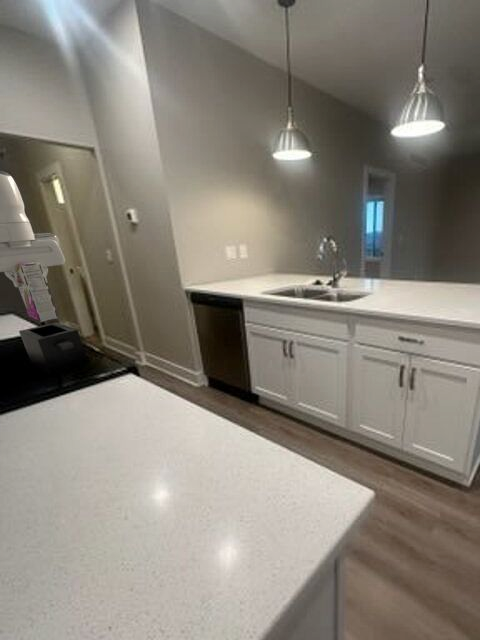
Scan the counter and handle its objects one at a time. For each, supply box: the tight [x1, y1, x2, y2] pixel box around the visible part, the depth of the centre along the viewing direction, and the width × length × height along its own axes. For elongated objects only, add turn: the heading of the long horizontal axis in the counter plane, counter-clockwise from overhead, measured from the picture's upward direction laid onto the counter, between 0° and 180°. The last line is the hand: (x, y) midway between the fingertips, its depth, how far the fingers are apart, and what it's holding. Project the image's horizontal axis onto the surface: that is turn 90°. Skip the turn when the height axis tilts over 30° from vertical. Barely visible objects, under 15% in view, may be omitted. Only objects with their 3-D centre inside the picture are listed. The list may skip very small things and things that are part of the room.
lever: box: [56, 341, 74, 350], centre depth 100 cm, size 3×4×1 cm
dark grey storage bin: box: [18, 322, 89, 376], centre depth 108 cm, size 10×17×11 cm, turn 52°
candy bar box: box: [13, 262, 59, 323], centre depth 101 cm, size 11×5×16 cm, turn 51°
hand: (31, 284), depth 100 cm, fingers closed on candy bar box, 5 cm apart
